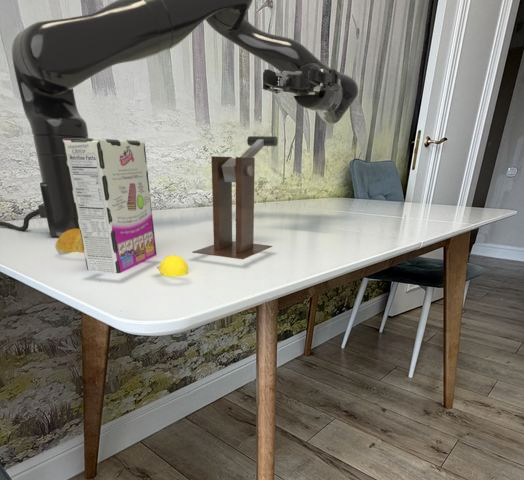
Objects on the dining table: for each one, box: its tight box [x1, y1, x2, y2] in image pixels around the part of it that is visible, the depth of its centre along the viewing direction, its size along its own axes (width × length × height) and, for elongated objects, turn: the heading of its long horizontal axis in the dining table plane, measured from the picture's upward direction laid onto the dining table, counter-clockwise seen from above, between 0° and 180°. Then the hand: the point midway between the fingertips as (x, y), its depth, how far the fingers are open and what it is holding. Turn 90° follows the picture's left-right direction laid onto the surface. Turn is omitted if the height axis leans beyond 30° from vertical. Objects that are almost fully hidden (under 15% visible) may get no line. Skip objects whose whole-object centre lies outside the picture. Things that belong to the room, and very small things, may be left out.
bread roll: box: [54, 229, 84, 255], centre depth 63 cm, size 8×9×4 cm
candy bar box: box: [63, 137, 157, 274], centre depth 52 cm, size 11×5×16 cm, turn 168°
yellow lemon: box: [156, 254, 189, 277], centre depth 51 cm, size 3×6×4 cm, turn 44°
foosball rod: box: [222, 135, 278, 183], centre depth 62 cm, size 13×5×2 cm, turn 155°
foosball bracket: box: [191, 156, 273, 260], centre depth 62 cm, size 11×9×15 cm
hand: (287, 75), depth 69 cm, fingers open, 8 cm apart
